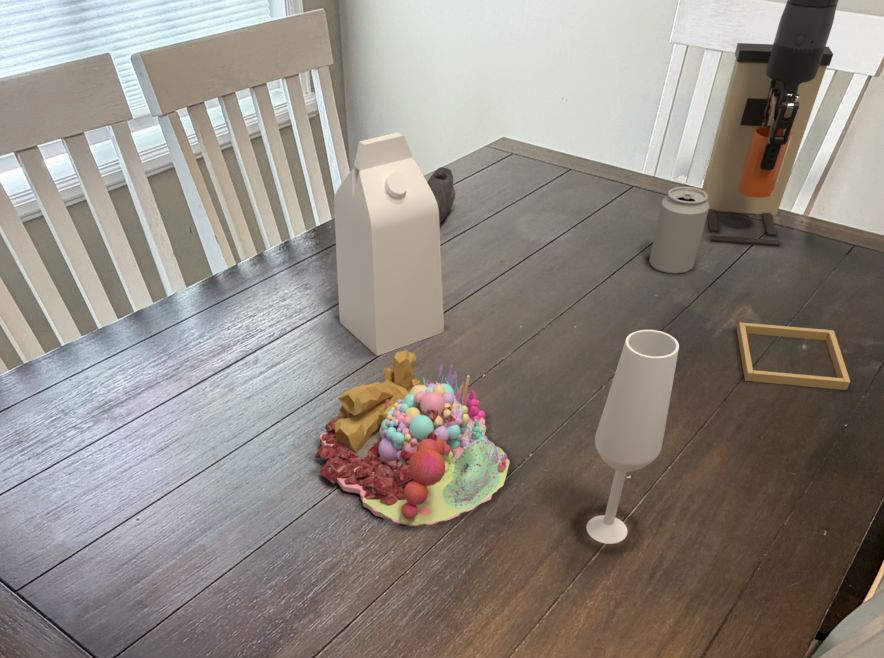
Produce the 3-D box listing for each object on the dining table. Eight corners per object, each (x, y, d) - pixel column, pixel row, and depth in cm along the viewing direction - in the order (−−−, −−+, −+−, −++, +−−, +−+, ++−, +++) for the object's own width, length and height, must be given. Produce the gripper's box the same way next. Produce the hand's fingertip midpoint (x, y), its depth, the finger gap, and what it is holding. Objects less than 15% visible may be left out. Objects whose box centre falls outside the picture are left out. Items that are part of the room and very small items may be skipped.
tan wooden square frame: (828, 342, 110) (834, 330, 108) (844, 394, 101) (850, 381, 100) (735, 334, 111) (739, 322, 110) (743, 385, 103) (747, 372, 101)
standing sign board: (774, 209, 140) (828, 46, 120) (786, 251, 129) (848, 79, 109) (696, 204, 142) (737, 42, 122) (701, 245, 131) (747, 74, 111)
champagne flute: (647, 533, 84) (705, 343, 65) (612, 564, 81) (663, 373, 62) (599, 505, 87) (642, 316, 69) (564, 533, 84) (599, 344, 66)
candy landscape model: (282, 461, 92) (269, 399, 85) (404, 379, 104) (402, 319, 97) (434, 552, 82) (433, 490, 75) (551, 450, 94) (560, 388, 87)
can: (643, 273, 124) (660, 198, 115) (652, 254, 128) (668, 180, 119) (688, 281, 122) (708, 205, 113) (695, 261, 126) (715, 187, 117)
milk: (404, 300, 118) (398, 116, 98) (444, 332, 112) (445, 142, 92) (339, 322, 114) (318, 134, 94) (376, 356, 108) (363, 162, 88)
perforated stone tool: (438, 239, 133) (438, 198, 127) (410, 235, 134) (409, 195, 128) (459, 205, 142) (459, 166, 137) (433, 202, 143) (433, 163, 138)
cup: (771, 185, 129) (789, 126, 122) (775, 198, 125) (794, 139, 118) (736, 183, 129) (752, 125, 123) (739, 196, 126) (755, 137, 119)
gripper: (834, 54, 106) (792, 179, 119) (819, 28, 115) (781, 147, 128) (780, 52, 107) (745, 177, 120) (769, 27, 116) (737, 145, 129)
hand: (764, 161), depth 124 cm, fingers closed on cup, 6 cm apart
